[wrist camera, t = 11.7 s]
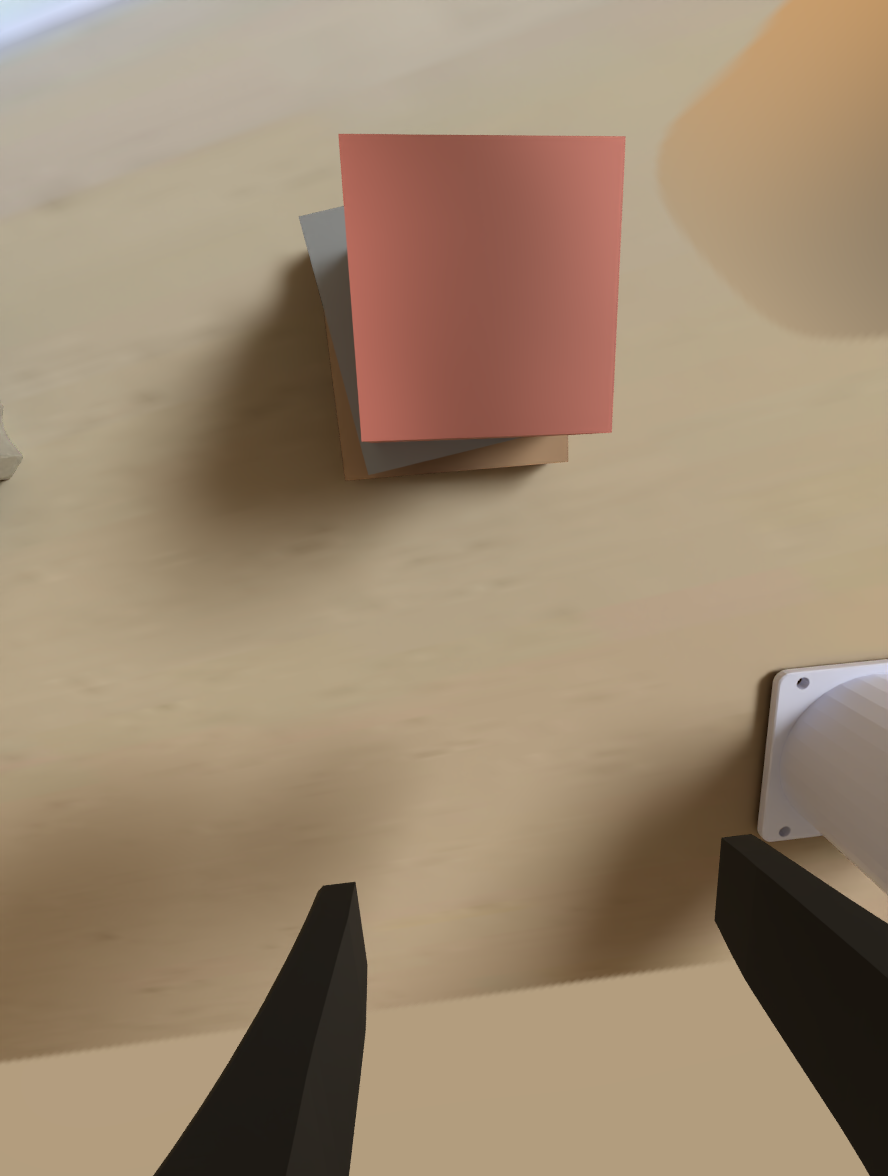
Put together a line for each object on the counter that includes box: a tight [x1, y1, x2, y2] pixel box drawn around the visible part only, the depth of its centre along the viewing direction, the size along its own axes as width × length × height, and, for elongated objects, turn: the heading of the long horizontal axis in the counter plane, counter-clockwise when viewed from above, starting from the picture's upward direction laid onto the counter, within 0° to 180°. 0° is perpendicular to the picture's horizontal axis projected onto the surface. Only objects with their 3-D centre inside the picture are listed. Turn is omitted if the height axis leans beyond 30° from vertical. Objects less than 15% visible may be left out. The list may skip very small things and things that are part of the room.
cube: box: [339, 134, 625, 443], centre depth 11 cm, size 4×4×4 cm
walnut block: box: [323, 308, 568, 481], centre depth 17 cm, size 7×7×2 cm
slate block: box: [299, 206, 522, 475], centre depth 14 cm, size 6×6×2 cm
